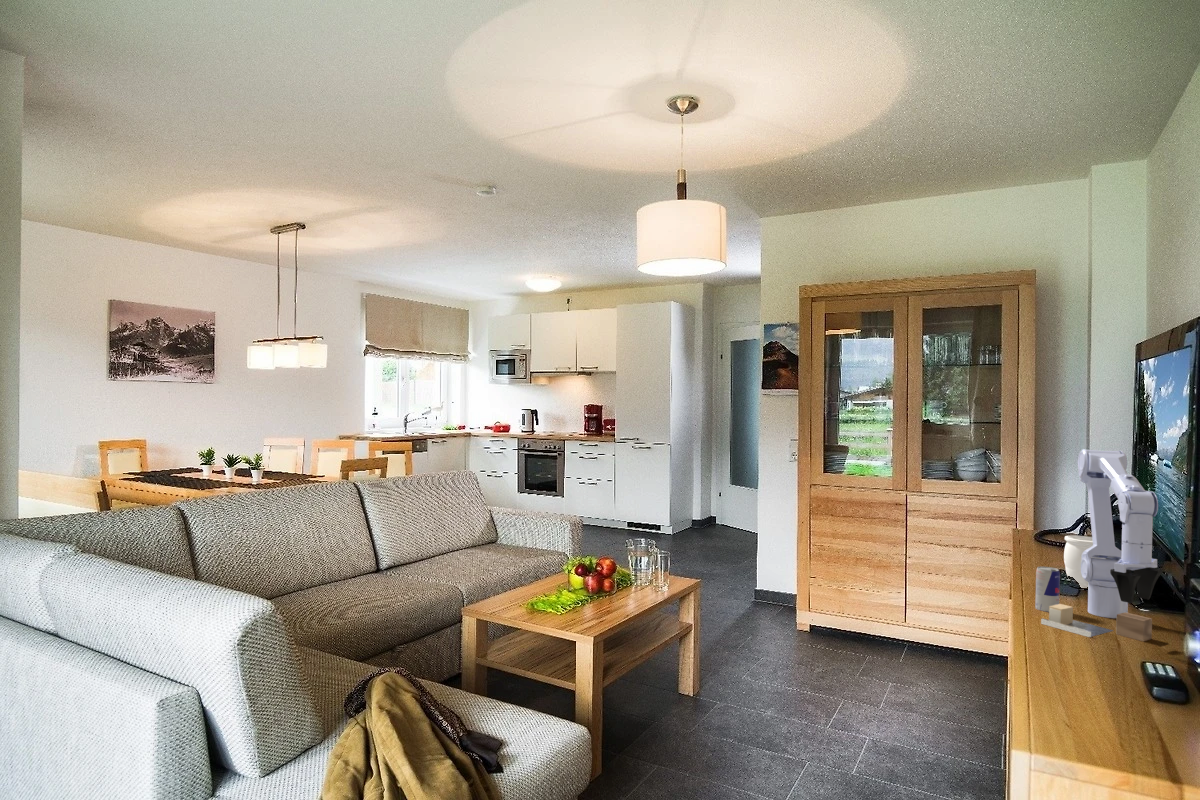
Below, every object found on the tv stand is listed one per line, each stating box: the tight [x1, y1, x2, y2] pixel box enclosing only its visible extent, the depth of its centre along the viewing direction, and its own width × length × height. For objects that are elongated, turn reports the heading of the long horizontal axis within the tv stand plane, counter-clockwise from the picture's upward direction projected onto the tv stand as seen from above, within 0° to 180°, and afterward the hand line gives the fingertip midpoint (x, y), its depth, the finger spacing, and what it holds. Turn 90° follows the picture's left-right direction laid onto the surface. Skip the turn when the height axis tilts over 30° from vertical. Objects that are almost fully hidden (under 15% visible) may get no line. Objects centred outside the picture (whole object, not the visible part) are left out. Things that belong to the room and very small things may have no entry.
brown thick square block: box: [1115, 612, 1153, 642], centre depth 169 cm, size 4×6×6 cm
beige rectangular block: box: [1048, 603, 1074, 625], centre depth 179 cm, size 5×3×4 cm, turn 119°
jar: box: [1063, 535, 1107, 588], centre depth 219 cm, size 11×10×15 cm
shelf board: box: [1040, 618, 1114, 638], centre depth 175 cm, size 11×11×2 cm
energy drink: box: [1034, 566, 1061, 613], centre depth 190 cm, size 5×5×12 cm
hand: (1135, 600), depth 169 cm, fingers open, 7 cm apart
